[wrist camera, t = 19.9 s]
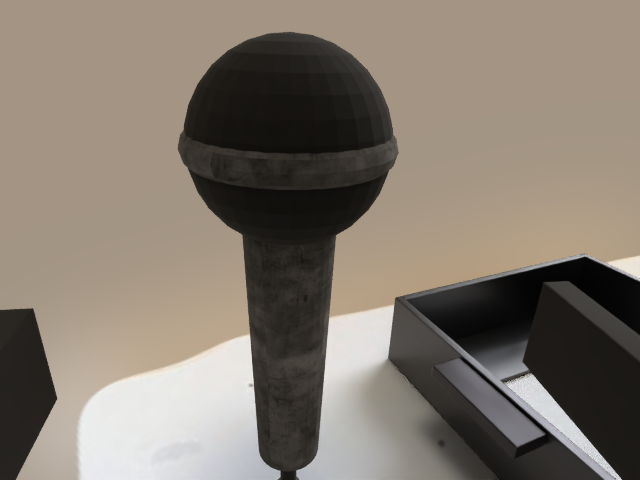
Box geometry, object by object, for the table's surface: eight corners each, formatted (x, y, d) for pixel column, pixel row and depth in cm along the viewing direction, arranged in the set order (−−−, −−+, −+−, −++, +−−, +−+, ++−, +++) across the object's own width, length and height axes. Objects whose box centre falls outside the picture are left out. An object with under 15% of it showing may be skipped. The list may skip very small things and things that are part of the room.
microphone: (254, 425, 25) (240, 31, 17) (375, 462, 23) (424, 37, 15) (182, 544, 19) (107, 25, 11) (337, 606, 17) (383, 33, 9)
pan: (583, 300, 39) (599, 249, 37) (887, 466, 24) (940, 397, 22) (365, 364, 30) (370, 302, 28) (629, 683, 16) (679, 602, 14)
